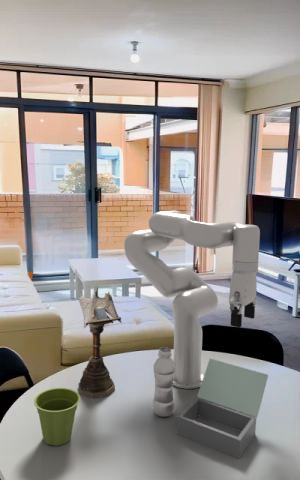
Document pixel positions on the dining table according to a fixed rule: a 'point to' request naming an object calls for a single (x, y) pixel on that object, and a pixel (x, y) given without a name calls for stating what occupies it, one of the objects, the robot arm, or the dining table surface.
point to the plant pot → (57, 414)
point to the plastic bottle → (164, 383)
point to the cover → (233, 387)
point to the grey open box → (215, 436)
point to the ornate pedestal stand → (97, 344)
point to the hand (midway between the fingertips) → (242, 321)
